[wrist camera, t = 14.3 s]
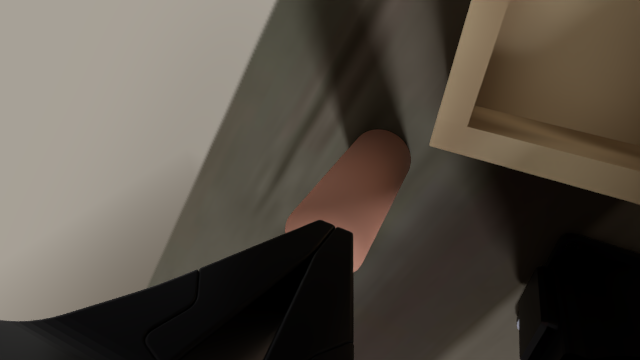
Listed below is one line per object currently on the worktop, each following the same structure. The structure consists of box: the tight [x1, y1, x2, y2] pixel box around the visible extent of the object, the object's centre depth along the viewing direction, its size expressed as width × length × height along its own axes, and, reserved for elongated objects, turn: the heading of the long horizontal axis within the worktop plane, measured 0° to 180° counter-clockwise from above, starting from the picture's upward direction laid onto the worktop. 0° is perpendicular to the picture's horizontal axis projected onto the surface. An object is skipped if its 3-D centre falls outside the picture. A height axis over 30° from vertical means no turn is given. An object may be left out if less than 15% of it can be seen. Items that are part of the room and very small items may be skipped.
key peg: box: [285, 129, 411, 272], centre depth 19 cm, size 3×3×8 cm
